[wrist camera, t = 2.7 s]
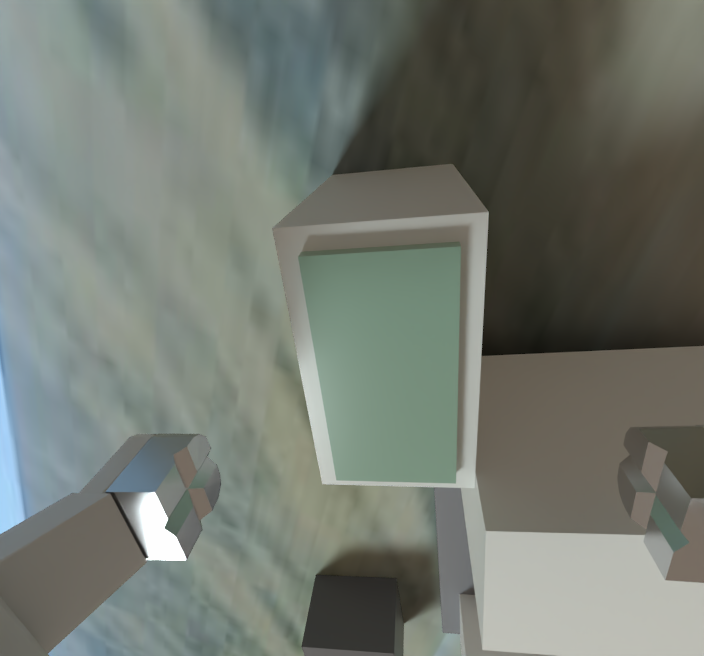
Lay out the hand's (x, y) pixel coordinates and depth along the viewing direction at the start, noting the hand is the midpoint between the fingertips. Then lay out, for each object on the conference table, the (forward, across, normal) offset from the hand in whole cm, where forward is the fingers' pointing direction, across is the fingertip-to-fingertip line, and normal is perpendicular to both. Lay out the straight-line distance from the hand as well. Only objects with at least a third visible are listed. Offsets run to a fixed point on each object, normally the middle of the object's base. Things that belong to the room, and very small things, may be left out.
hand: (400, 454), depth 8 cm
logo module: (+8, 0, -1) cm, 9 cm away
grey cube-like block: (+9, +4, +21) cm, 23 cm away
